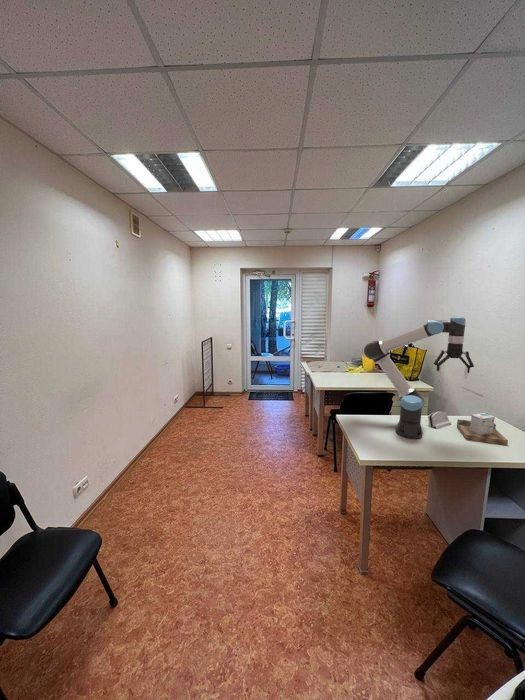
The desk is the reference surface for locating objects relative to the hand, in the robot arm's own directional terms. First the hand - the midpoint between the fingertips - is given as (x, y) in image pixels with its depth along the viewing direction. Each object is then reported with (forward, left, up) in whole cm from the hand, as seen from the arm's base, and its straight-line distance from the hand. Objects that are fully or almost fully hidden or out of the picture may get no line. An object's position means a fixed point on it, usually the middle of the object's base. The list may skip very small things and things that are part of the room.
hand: (451, 377), depth 166 cm
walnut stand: (+19, +4, -37) cm, 42 cm away
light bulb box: (+19, +3, -34) cm, 39 cm away
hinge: (-1, +14, -37) cm, 40 cm away
